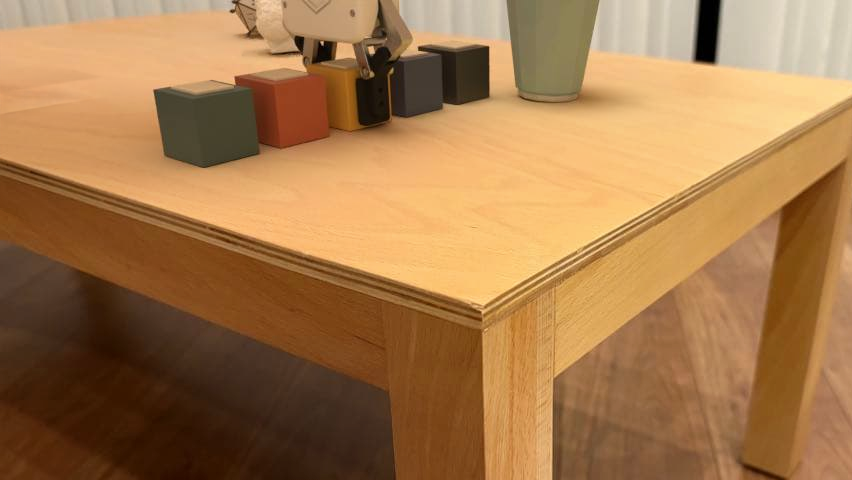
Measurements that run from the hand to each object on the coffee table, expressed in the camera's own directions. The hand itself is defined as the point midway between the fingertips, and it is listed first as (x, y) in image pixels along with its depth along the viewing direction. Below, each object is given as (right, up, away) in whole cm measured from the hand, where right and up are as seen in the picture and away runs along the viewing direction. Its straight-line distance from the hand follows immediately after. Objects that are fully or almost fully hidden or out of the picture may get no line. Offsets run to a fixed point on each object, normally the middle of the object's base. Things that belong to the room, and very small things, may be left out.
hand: (351, 115), depth 76 cm
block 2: (-4, -3, -5) cm, 7 cm away
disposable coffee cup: (+18, +4, +12) cm, 22 cm away
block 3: (+4, +2, +5) cm, 7 cm away
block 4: (+8, +4, +10) cm, 14 cm away
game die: (-22, +21, +45) cm, 54 cm away
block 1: (-8, -5, -10) cm, 14 cm away
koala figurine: (-16, +15, +33) cm, 39 cm away
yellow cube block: (0, 0, 0) cm, 1 cm away
